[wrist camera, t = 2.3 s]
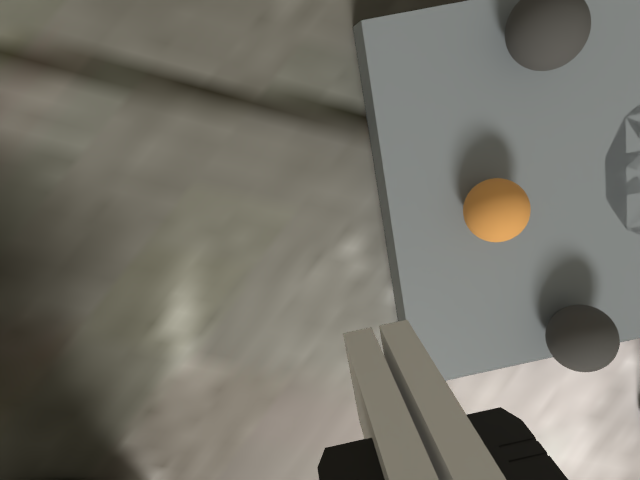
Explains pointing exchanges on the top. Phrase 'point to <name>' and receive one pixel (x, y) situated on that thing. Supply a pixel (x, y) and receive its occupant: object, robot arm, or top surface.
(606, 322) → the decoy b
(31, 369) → the top surface
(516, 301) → the plate
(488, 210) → the ball
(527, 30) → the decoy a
